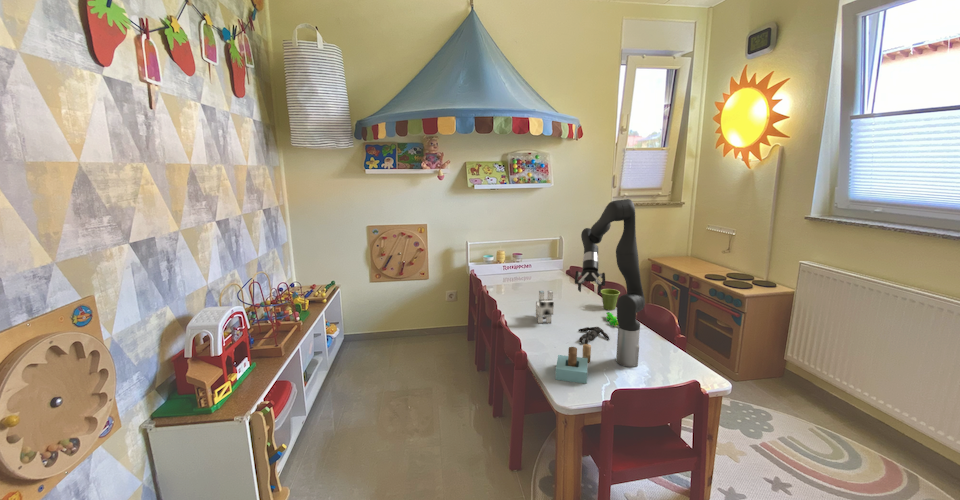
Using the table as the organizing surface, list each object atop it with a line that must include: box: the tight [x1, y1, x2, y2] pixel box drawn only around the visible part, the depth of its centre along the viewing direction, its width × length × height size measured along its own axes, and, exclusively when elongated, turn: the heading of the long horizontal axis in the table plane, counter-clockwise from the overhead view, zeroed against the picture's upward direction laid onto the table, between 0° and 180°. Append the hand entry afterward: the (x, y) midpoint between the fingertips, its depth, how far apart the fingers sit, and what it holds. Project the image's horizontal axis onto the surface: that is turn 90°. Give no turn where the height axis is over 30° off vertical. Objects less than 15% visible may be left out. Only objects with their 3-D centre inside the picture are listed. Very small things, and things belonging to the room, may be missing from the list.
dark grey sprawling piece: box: [578, 326, 610, 344], centre depth 208 cm, size 18×4×20 cm
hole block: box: [555, 354, 589, 384], centre depth 171 cm, size 13×13×5 cm
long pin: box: [567, 346, 578, 367], centre depth 170 cm, size 4×4×12 cm
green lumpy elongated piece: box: [605, 311, 618, 328], centre depth 226 cm, size 7×18×4 cm, turn 0°
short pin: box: [581, 343, 592, 364], centre depth 181 cm, size 4×4×8 cm
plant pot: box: [600, 288, 621, 311], centre depth 248 cm, size 12×12×11 cm
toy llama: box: [535, 290, 555, 325], centre depth 228 cm, size 8×18×20 cm, turn 1°
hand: (589, 291), depth 186 cm, fingers open, 8 cm apart
